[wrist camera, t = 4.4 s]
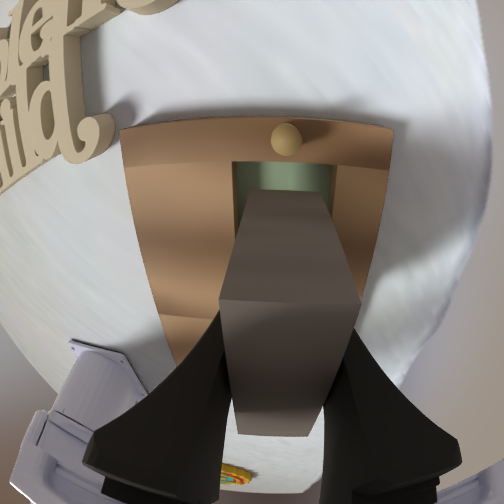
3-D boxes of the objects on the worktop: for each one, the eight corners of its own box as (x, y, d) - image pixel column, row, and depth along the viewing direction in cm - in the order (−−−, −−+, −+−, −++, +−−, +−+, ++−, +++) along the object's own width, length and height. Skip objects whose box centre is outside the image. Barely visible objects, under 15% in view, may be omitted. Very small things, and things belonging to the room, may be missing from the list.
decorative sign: (-34, 237, 17) (-64, 122, 9) (-23, 228, 18) (-52, 117, 11) (213, 114, 11) (160, -92, 3) (222, 111, 13) (171, -79, 5)
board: (328, 371, 22) (331, 400, 20) (185, 362, 23) (176, 390, 21) (381, 125, 12) (407, 135, 9) (133, 126, 13) (102, 135, 10)
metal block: (304, 324, 15) (308, 436, 10) (251, 322, 16) (237, 433, 10) (321, 191, 11) (363, 303, 5) (249, 189, 12) (216, 298, 6)
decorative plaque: (130, 461, 55) (145, 449, 40) (132, 454, 57) (148, 439, 42) (222, 487, 61) (273, 480, 46) (223, 481, 63) (274, 471, 48)
